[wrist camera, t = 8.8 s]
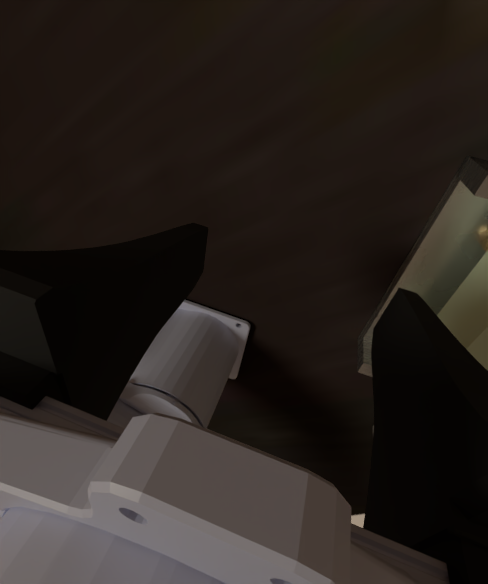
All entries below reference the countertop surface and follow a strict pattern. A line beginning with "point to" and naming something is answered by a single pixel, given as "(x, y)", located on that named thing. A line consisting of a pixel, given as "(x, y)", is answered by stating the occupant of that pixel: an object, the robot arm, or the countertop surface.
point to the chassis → (441, 249)
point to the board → (470, 312)
